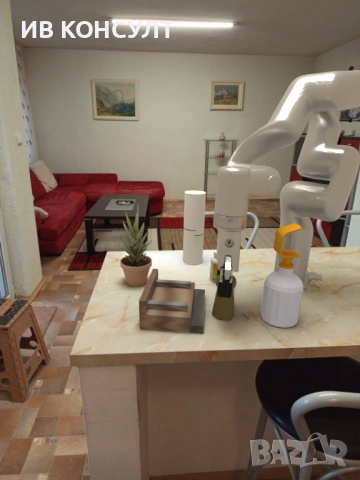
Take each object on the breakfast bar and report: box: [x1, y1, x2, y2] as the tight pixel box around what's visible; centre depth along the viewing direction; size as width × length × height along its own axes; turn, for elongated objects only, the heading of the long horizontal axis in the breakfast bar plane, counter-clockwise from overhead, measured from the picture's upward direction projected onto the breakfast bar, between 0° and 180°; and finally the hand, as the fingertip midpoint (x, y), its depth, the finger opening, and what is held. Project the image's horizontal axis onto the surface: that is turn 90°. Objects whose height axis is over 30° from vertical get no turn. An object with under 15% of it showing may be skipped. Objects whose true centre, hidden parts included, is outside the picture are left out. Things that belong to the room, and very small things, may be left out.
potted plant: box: [119, 205, 153, 287], centre depth 94 cm, size 10×10×25 cm
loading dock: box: [138, 268, 206, 335], centre depth 81 cm, size 15×18×8 cm
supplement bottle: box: [209, 249, 218, 283], centre depth 99 cm, size 5×5×10 cm
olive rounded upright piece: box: [211, 273, 238, 322], centre depth 80 cm, size 6×6×11 cm
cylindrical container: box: [182, 189, 207, 266], centre depth 110 cm, size 7×7×25 cm
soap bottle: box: [260, 223, 304, 328], centre depth 76 cm, size 9×9×25 cm
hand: (223, 287), depth 79 cm, fingers open, 9 cm apart
